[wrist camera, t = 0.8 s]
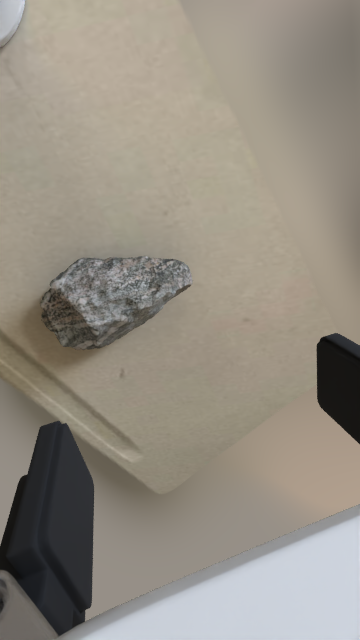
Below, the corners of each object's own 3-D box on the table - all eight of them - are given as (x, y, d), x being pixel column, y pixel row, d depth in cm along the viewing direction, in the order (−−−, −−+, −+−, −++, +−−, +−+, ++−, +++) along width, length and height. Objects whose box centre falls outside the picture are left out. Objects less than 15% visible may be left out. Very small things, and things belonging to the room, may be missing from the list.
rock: (89, 370, 40) (48, 367, 31) (56, 313, 43) (9, 292, 33) (202, 295, 41) (198, 267, 31) (164, 241, 43) (149, 200, 33)
